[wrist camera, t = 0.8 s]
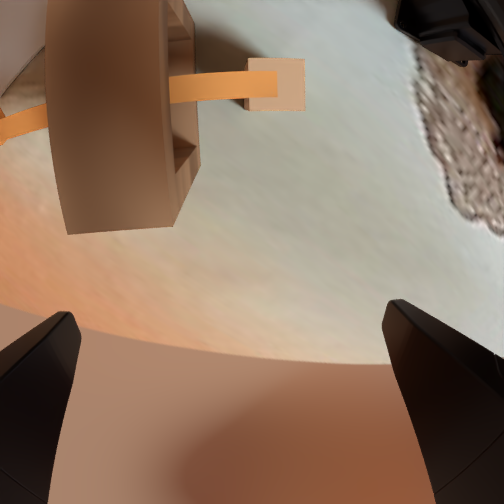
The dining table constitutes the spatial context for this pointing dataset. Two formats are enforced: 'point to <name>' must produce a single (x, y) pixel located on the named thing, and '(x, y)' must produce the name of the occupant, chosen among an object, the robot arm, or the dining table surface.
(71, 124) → the brown rectangular frame
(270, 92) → the rail
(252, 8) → the dining table surface
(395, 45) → the dining table surface
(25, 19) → the mat
